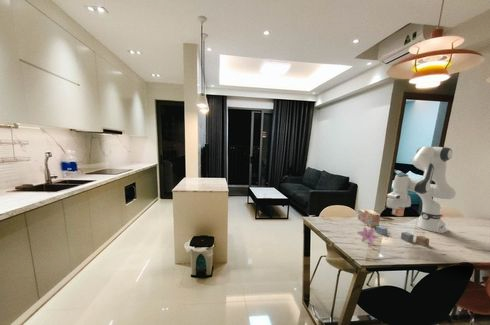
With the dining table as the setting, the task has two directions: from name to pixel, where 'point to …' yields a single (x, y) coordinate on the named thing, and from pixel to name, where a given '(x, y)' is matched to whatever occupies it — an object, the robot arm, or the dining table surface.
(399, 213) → the terracotta cube
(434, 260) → the dining table surface
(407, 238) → the charcoal cube
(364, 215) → the stack of blocks
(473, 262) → the dining table surface
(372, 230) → the lily
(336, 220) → the dining table surface
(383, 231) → the slate blue cube
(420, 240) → the walnut cube
